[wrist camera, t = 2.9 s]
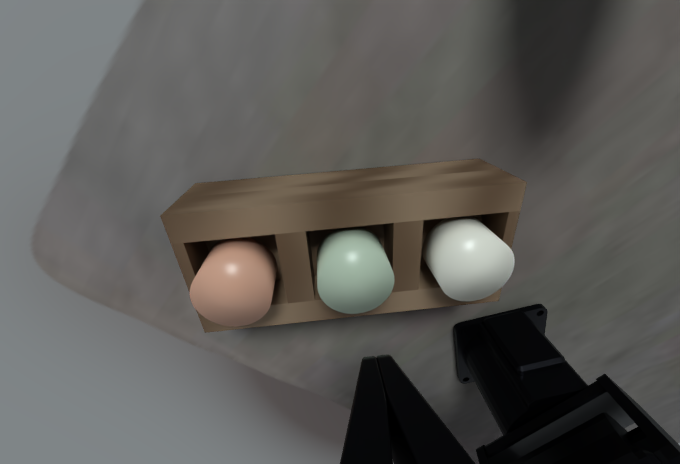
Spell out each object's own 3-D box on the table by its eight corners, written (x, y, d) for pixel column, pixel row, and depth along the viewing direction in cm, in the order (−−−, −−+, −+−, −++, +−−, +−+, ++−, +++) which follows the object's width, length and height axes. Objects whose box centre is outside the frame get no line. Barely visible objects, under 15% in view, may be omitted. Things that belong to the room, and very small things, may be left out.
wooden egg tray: (479, 158, 16) (526, 182, 12) (463, 258, 19) (498, 300, 15) (195, 183, 15) (160, 215, 12) (225, 283, 18) (205, 332, 15)
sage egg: (383, 222, 14) (395, 247, 12) (383, 279, 15) (393, 309, 13) (313, 229, 13) (313, 255, 11) (320, 285, 15) (321, 317, 13)
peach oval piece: (270, 233, 13) (263, 260, 11) (282, 290, 15) (277, 322, 13) (198, 240, 13) (179, 269, 11) (216, 296, 15) (202, 330, 13)
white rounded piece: (492, 212, 14) (522, 234, 12) (481, 269, 15) (506, 297, 13) (424, 218, 14) (442, 242, 12) (420, 275, 15) (436, 305, 13)
